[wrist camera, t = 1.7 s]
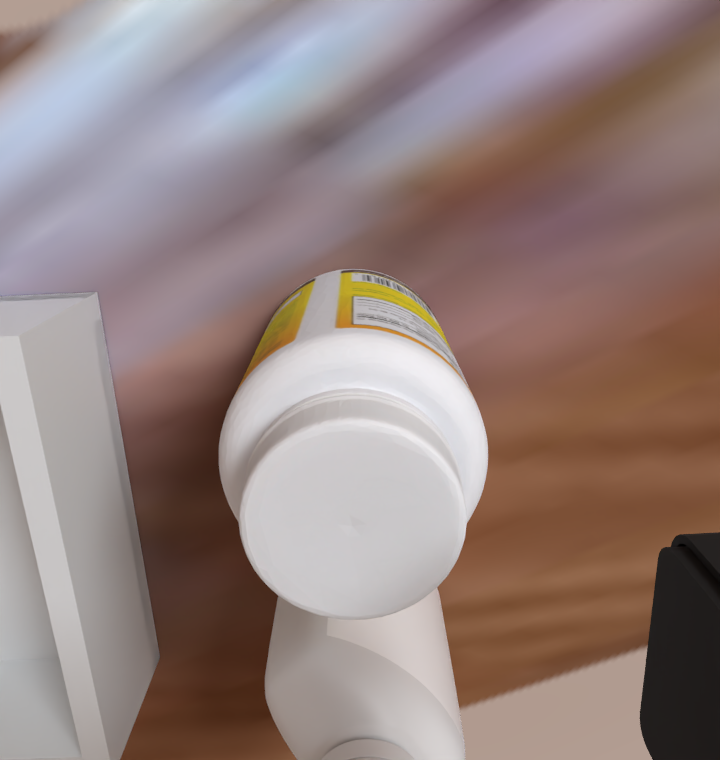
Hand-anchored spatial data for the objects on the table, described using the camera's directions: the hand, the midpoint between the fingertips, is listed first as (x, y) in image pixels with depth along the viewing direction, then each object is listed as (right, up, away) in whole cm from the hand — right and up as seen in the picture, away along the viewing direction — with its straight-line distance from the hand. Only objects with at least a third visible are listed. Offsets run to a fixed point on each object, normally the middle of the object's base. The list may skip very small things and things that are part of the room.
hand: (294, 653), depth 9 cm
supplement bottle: (+1, +4, +13) cm, 14 cm away
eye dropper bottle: (+1, -3, +15) cm, 16 cm away
